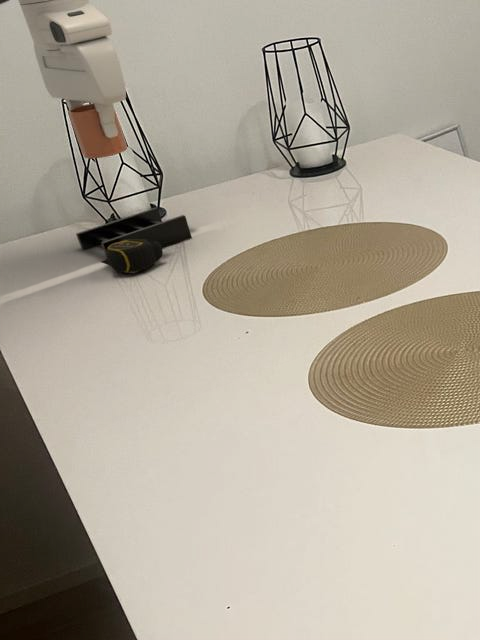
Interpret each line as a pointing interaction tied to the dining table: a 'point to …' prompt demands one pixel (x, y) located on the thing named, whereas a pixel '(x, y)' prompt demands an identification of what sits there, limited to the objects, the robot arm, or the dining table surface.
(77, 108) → the pot
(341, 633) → the dining table surface
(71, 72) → the robot arm
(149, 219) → the rack
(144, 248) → the tape measure
